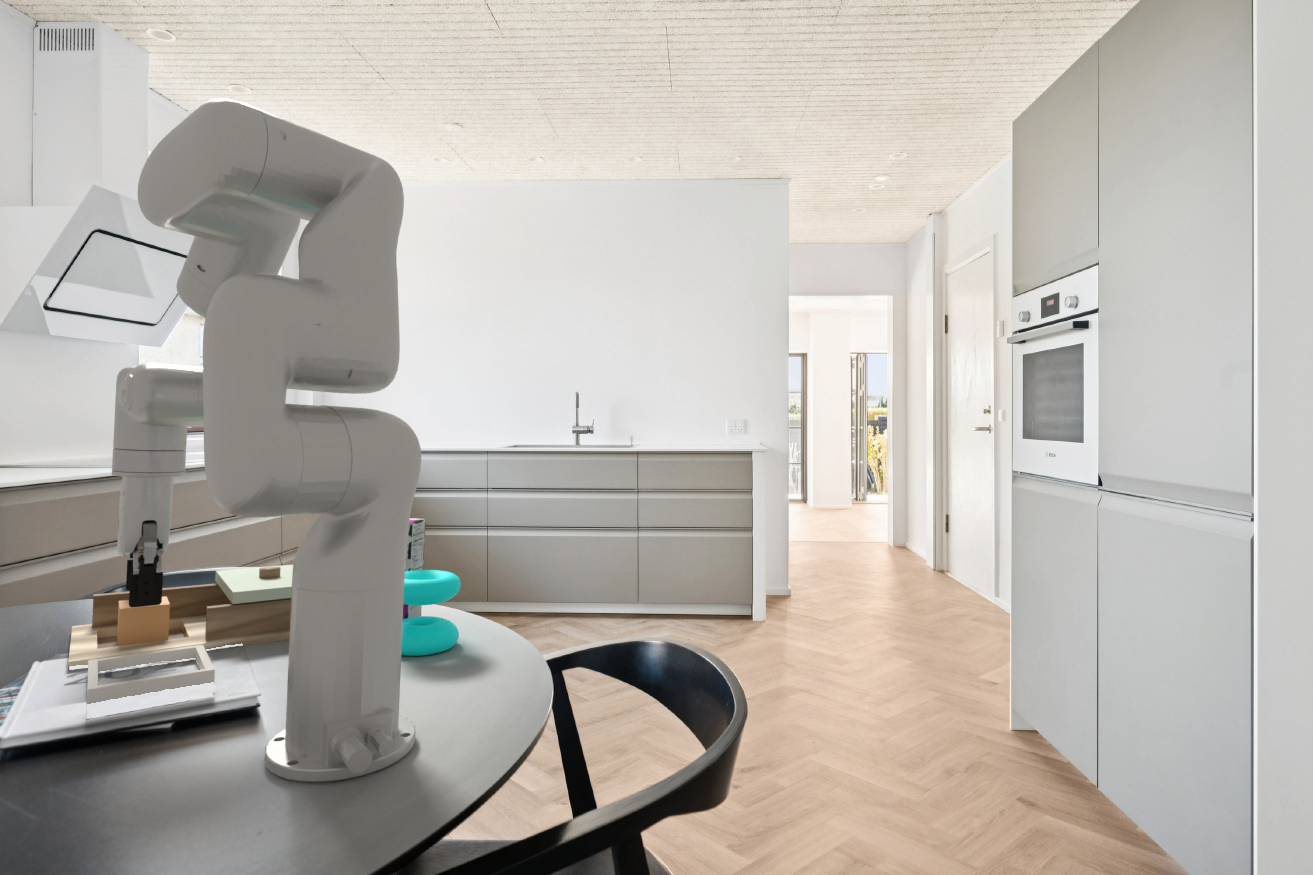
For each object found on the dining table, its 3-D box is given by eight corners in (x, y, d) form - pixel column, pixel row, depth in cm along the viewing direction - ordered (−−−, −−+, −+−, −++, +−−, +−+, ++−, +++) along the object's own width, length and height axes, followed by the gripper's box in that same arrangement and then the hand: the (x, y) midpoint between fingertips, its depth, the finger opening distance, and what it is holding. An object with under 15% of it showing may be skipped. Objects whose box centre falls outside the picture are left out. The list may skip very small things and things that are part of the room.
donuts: (415, 565, 99) (474, 571, 97) (412, 633, 99) (472, 641, 97) (368, 577, 90) (433, 585, 87) (365, 652, 90) (430, 662, 87)
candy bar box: (336, 626, 101) (341, 517, 101) (354, 617, 106) (358, 514, 106) (407, 631, 100) (412, 521, 100) (422, 622, 105) (427, 517, 105)
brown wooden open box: (328, 644, 93) (330, 596, 93) (67, 684, 75) (69, 625, 75) (299, 616, 106) (301, 574, 106) (71, 645, 88) (73, 594, 88)
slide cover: (326, 594, 93) (326, 574, 93) (232, 604, 86) (233, 582, 86) (299, 573, 105) (299, 556, 105) (215, 580, 98) (216, 562, 98)
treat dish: (213, 696, 73) (214, 669, 73) (86, 719, 67) (87, 689, 67) (201, 669, 81) (202, 644, 81) (87, 687, 75) (88, 659, 75)
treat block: (168, 643, 86) (169, 604, 86) (118, 649, 83) (119, 609, 83) (164, 633, 90) (166, 596, 90) (117, 639, 87) (118, 600, 87)
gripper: (110, 459, 91) (104, 586, 91) (113, 468, 77) (106, 617, 77) (179, 460, 96) (172, 580, 96) (192, 468, 82) (185, 608, 82)
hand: (143, 596), depth 87 cm, fingers open, 9 cm apart
